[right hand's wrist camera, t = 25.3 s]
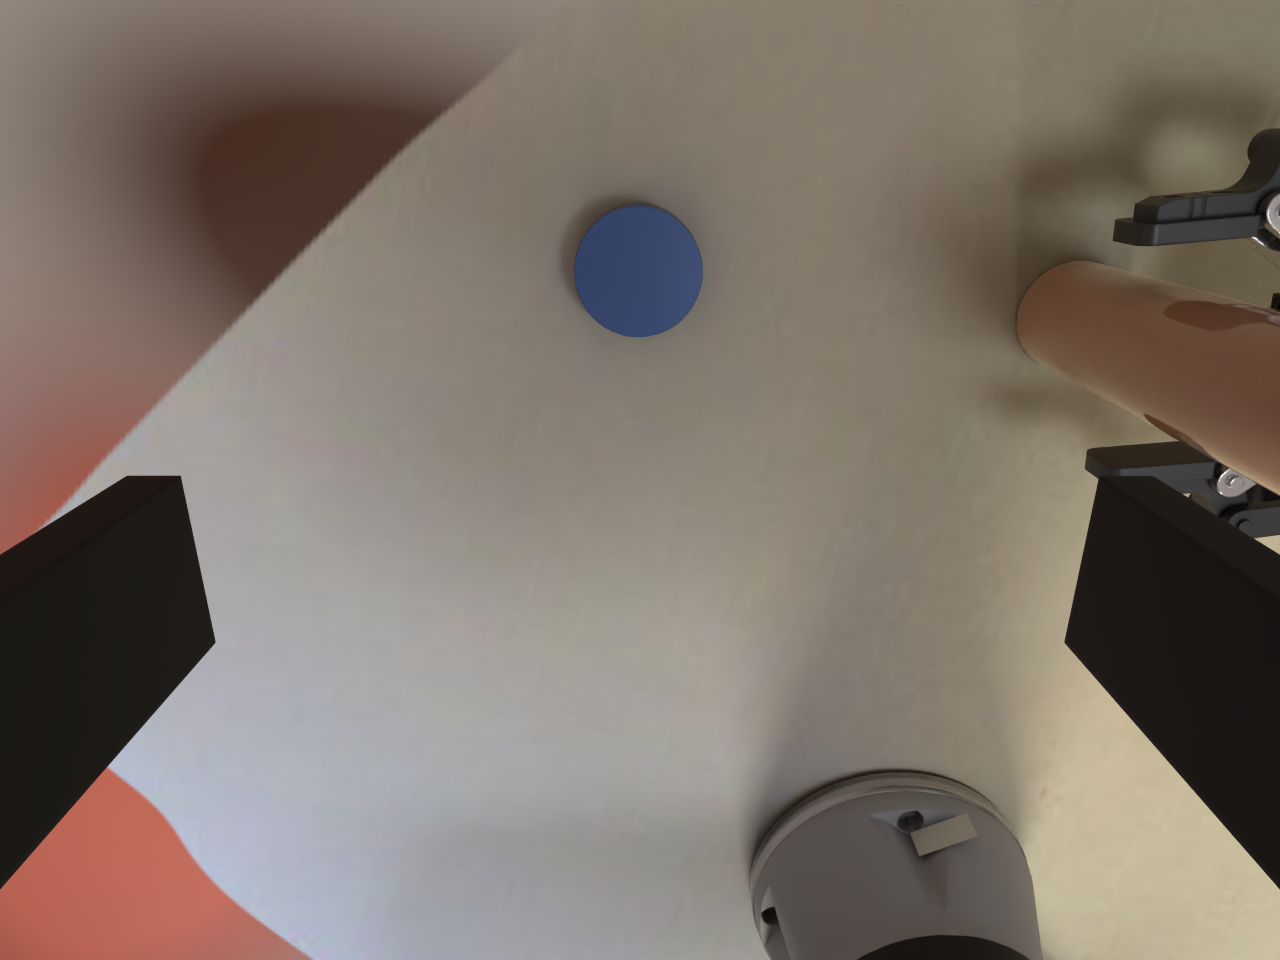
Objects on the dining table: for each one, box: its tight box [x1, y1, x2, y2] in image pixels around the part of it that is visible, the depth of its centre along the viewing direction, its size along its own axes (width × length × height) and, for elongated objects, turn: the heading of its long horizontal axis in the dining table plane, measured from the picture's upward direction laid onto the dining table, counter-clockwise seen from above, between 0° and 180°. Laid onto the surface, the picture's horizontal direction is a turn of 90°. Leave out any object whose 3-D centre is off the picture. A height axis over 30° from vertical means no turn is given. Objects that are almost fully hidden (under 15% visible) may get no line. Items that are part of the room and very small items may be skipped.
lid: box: [574, 204, 702, 337], centre depth 35 cm, size 5×5×2 cm
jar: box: [1016, 260, 1280, 496], centre depth 28 cm, size 5×5×18 cm
